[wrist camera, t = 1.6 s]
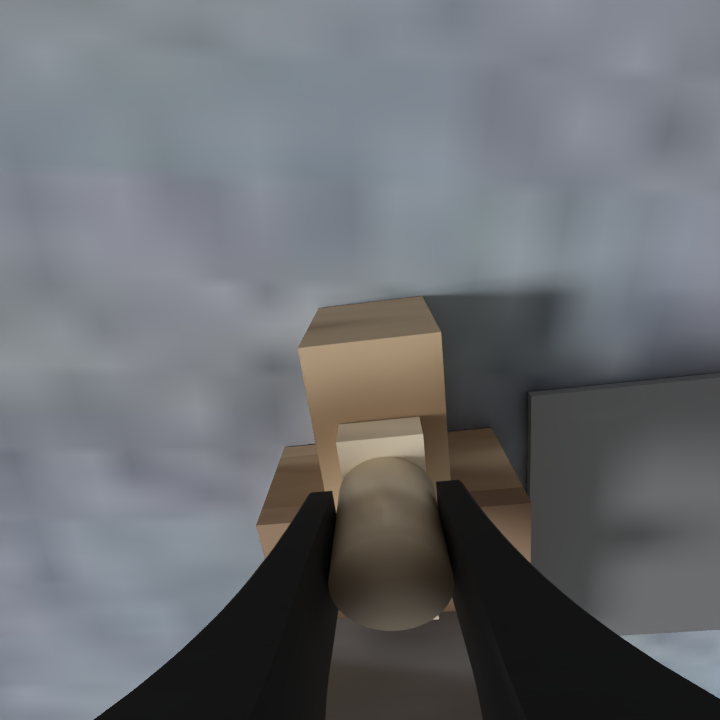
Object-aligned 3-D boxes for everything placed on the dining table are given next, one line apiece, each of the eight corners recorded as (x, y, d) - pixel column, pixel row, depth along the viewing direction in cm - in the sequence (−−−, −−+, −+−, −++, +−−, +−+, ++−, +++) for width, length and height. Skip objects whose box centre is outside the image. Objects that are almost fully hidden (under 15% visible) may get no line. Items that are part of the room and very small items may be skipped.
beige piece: (440, 592, 15) (463, 725, 11) (361, 598, 15) (357, 730, 11) (425, 415, 12) (449, 508, 9) (332, 425, 13) (314, 519, 9)
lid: (513, 675, 19) (571, 867, 13) (316, 686, 19) (294, 873, 14) (513, 469, 15) (593, 619, 10) (268, 491, 16) (213, 643, 10)
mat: (767, 618, 21) (774, 626, 21) (525, 633, 22) (527, 640, 22) (841, 360, 16) (852, 363, 16) (528, 392, 17) (531, 396, 17)
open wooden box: (495, 614, 22) (527, 722, 17) (323, 625, 22) (311, 732, 18) (488, 288, 16) (534, 321, 11) (255, 315, 16) (211, 357, 12)
